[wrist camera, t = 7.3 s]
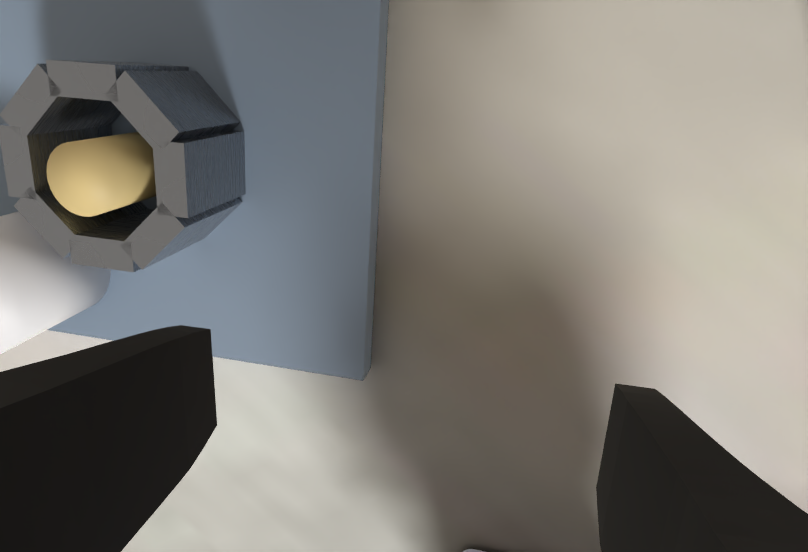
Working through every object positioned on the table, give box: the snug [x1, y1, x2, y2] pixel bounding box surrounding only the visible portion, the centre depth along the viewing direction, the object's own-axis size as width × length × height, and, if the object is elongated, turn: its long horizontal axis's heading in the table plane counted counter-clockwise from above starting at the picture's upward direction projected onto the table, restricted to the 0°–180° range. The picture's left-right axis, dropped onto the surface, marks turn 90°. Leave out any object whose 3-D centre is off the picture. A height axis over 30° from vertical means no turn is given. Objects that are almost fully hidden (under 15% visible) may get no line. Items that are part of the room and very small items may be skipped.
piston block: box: [0, 0, 389, 381], centre depth 18 cm, size 14×14×5 cm
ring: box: [0, 60, 246, 272], centre depth 18 cm, size 6×6×4 cm
